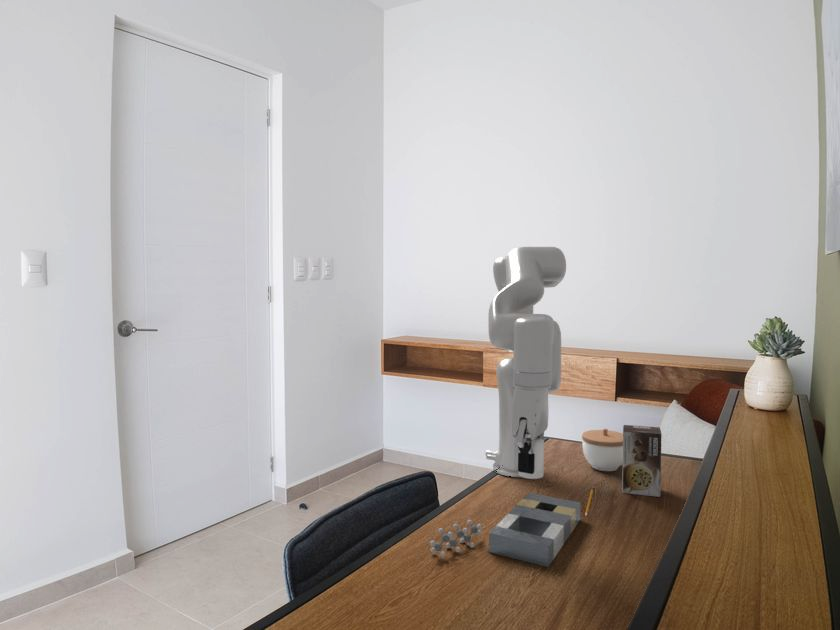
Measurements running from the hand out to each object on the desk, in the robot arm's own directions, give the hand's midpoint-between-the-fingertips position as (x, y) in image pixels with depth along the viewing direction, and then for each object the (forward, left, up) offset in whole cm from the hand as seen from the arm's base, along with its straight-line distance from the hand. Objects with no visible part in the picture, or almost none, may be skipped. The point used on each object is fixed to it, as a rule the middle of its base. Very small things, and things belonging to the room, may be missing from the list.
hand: (530, 467), depth 118 cm
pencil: (+5, +29, -17) cm, 34 cm away
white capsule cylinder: (0, 0, -2) cm, 2 cm away
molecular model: (-12, -9, -17) cm, 22 cm away
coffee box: (+15, +42, -17) cm, 48 cm away
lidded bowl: (+3, +56, -16) cm, 58 cm away
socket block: (0, +5, -16) cm, 17 cm away
